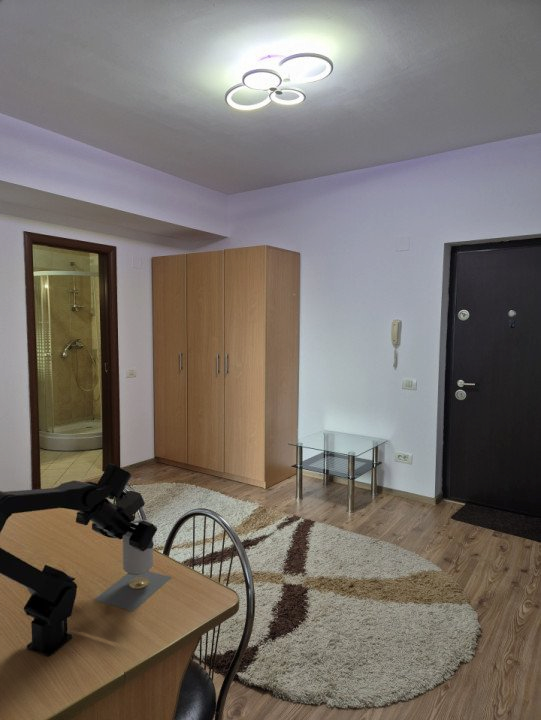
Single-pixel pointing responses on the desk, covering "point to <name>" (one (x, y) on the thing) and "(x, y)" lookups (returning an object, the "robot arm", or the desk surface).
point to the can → (136, 556)
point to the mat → (132, 591)
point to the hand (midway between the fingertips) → (142, 542)
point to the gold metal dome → (139, 583)
